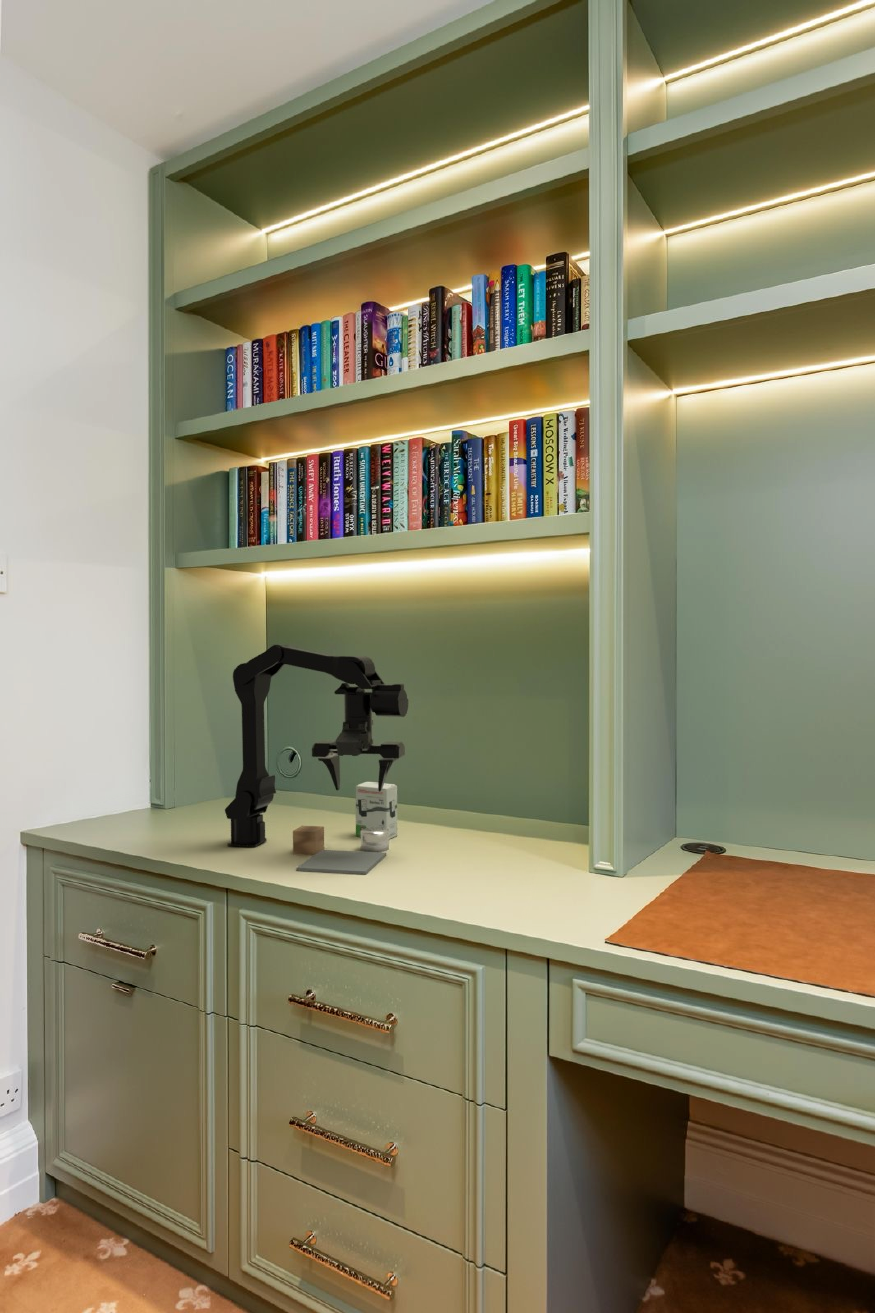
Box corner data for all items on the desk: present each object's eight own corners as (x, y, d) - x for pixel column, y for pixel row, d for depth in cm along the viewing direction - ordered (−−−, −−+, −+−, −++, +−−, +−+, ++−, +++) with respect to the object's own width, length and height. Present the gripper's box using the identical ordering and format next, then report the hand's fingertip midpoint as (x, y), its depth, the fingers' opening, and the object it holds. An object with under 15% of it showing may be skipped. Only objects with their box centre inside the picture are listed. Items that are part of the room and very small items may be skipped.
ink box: (354, 836, 181) (353, 784, 181) (366, 832, 186) (365, 781, 186) (387, 840, 177) (386, 787, 177) (398, 835, 182) (398, 783, 181)
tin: (357, 852, 168) (357, 833, 168) (365, 845, 174) (365, 826, 174) (384, 853, 166) (384, 834, 166) (392, 846, 172) (392, 828, 172)
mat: (296, 870, 154) (296, 867, 154) (322, 852, 167) (322, 849, 167) (365, 874, 151) (365, 871, 151) (386, 855, 164) (386, 852, 164)
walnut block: (293, 854, 166) (292, 830, 166) (302, 848, 171) (302, 825, 171) (315, 855, 165) (315, 831, 165) (324, 849, 170) (324, 826, 170)
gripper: (301, 719, 160) (302, 796, 161) (391, 720, 157) (392, 799, 157) (320, 714, 171) (321, 786, 172) (405, 715, 168) (405, 789, 168)
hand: (358, 790), depth 167 cm, fingers open, 9 cm apart
